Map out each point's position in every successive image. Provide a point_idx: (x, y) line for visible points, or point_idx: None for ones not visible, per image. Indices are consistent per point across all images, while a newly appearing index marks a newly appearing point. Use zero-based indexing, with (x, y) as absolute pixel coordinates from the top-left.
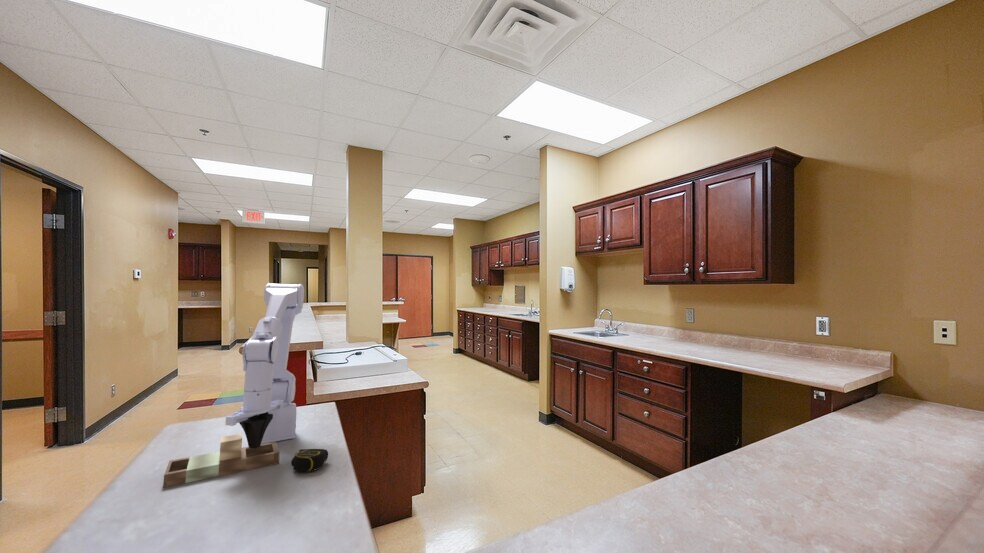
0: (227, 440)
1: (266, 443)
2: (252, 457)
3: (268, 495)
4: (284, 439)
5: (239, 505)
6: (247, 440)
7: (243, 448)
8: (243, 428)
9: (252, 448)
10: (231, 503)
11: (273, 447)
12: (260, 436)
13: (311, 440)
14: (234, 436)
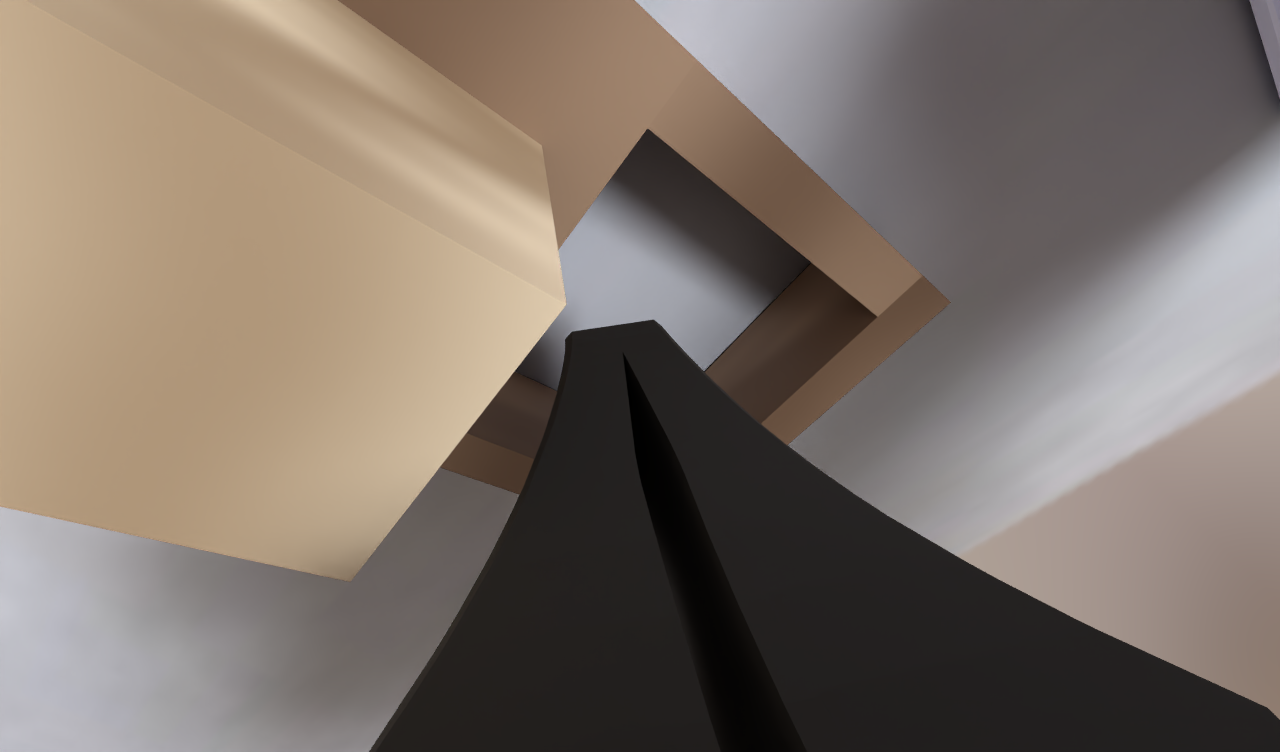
0: (18, 451)
1: (885, 246)
2: (469, 471)
3: (316, 700)
4: (1265, 38)
5: (144, 699)
6: (559, 398)
7: (639, 87)
8: (446, 661)
9: (717, 182)
10: (109, 669)
11: (768, 423)
12: (665, 569)
13: (1157, 318)
14: (303, 341)
